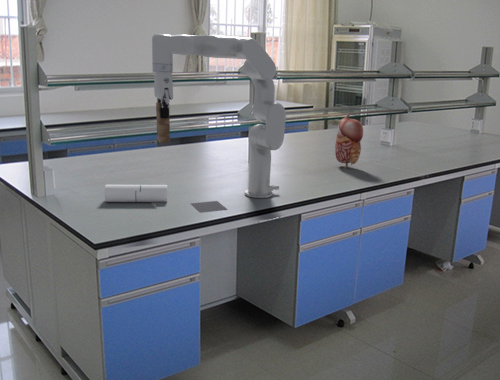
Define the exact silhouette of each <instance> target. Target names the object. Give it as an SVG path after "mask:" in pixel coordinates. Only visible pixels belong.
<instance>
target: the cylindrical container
mask: <svg viewBox="0 0 500 380" xmlns="http://www.w3.org/2000/svg"><path fill="white" fill-rule="evenodd" d="M104 201H105V202H106V203H153V202H154V203H155V202H157V203H158V202H159V203H160V202H161V203H163V202H165V203H167V202H168V184H105V186H104Z"/></svg>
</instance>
